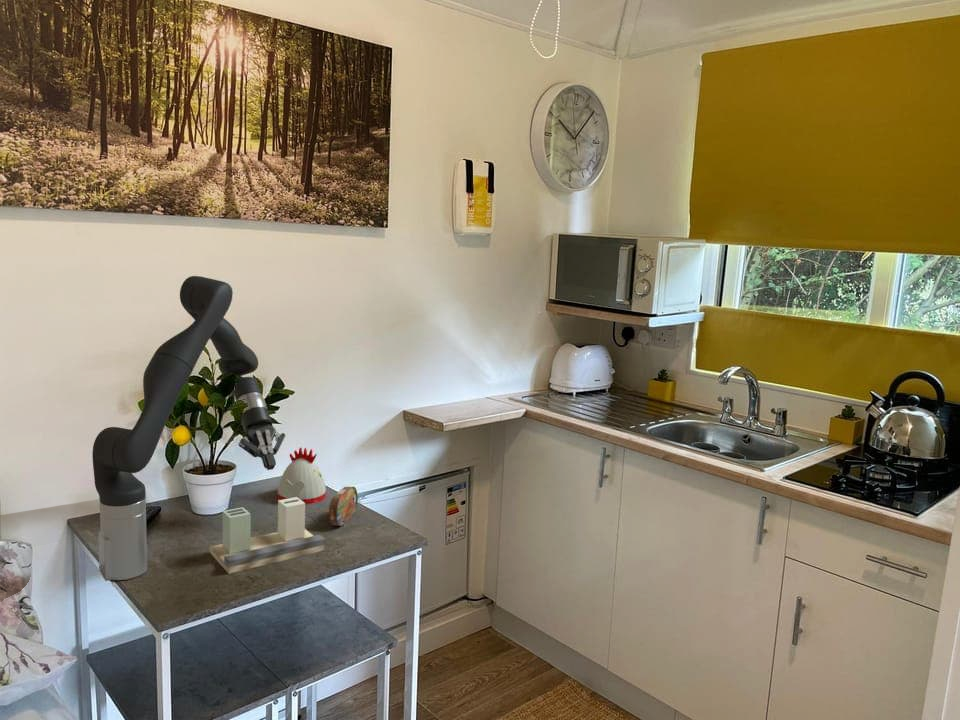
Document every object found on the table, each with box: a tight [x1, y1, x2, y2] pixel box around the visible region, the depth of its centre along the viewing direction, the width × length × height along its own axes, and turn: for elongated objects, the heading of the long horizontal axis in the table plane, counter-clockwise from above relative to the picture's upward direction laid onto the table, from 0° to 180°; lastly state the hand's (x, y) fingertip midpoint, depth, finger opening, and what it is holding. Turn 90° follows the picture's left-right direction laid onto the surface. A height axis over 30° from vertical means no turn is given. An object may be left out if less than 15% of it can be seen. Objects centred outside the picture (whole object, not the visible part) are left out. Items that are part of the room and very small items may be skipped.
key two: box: [222, 506, 252, 554], centre depth 175 cm, size 5×5×9 cm
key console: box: [209, 528, 326, 575], centre depth 178 cm, size 24×13×3 cm, turn 128°
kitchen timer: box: [277, 446, 327, 505], centre depth 215 cm, size 14×14×15 cm
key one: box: [277, 497, 306, 541], centre depth 184 cm, size 5×5×9 cm
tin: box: [328, 486, 359, 527], centre depth 200 cm, size 15×3×8 cm, turn 168°
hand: (271, 468), depth 192 cm, fingers closed
